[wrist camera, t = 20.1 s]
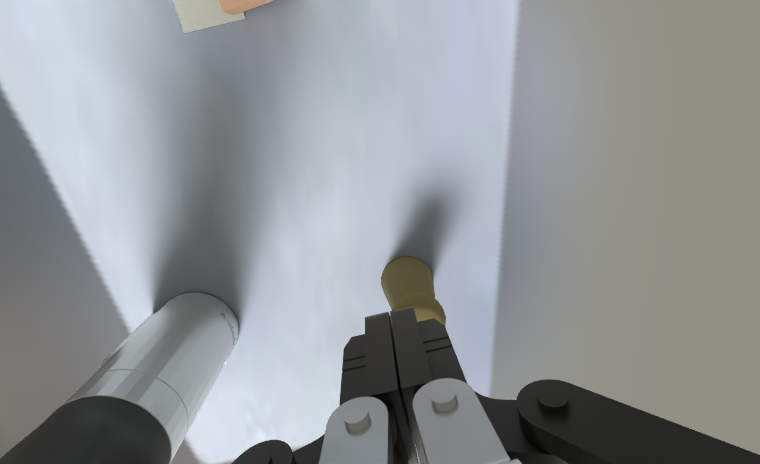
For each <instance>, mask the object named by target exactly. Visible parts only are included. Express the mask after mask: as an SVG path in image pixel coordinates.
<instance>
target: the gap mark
mask: <svg viewBox="0 0 760 464" xmlns="http://www.w3.org/2000/svg"><path fill="white" fill-rule="evenodd" d="M173 3H174V6H175V9H176V12H177V14H178V17H179V20H180V23H181V26H182V29H183V32H184V33H189V32H193V31H197V30H201V29H205V28H210V27H214V26H218V25H222V24H226V23H230V22H234V21H238V20H243V19H246V18H245V14H244V12H242V13H239V14H237V15H231V14H228V13H225V12H223V10H222V7H221V4H220V1H219V0H173Z"/></svg>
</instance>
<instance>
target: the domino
mask: <svg viewBox="0 0 760 464" xmlns="http://www.w3.org/2000/svg"><path fill="white" fill-rule="evenodd" d="M219 1H220V4H221V7H222V10H223V12H225V13H228V14H231V15H237V14H239V13H242V12H245V11H247V10H250V9H253V8H255V7H258V6H261V5H263V4H266V3H269V2H271V1H274V0H219Z"/></svg>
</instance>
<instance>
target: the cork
mask: <svg viewBox="0 0 760 464" xmlns="http://www.w3.org/2000/svg"><path fill="white" fill-rule="evenodd" d="M381 285H382V288H383V291H384V293H385V296H386V298H387V300H388V302H389V305H390V307H391V309H392V311H394V310H398V309H403V308H407V307H411V306H413V308H414V311H415V315H416V319H417V322H419V321H424V320H428V319H432V318H435V319H436V320H437V321H439V322H440V323H442V324H443V325H444V326H445V322H446V317H445V313H444V310H443V308H442V306H441V305H440V304H439V302H438V301H437V300H436V299H435V294H434V284H433V276H432V273H431V269H430V268H429V267H428V265H427V264H426V263H425V262H424V261H422V260H421V259H419V258H415V257H412V256H405V257H400V258H397V259H395V260H393V261H392V262H390V263H389V264H388V265H387V267H386V268H385V269H384V271H383V274H382V277H381ZM390 319H391V315H390ZM391 323H392V321H391Z"/></svg>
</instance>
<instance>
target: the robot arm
mask: <svg viewBox="0 0 760 464" xmlns="http://www.w3.org/2000/svg"><path fill="white" fill-rule="evenodd" d="M390 314H391V319H390V315H389V312H386V313H381V314H377V315H373V316H369V317H365V334H363V335H359V336H355V337H351V339H350V340H349V342H348V343H347V345H346V346H345V348H344V354H343V367H342V371H343V373H342V380H341V393H340V406H339V407H338V408H337V409H336V410H335V411H334V412H333V413H332V414H331V416H330V418H329V420H328V422H327V426H326V431H325V434H324V435H323V436H321V437H320V438H319V439H317V440H315V441H314V442H312V443H310V444H308V445H306V446H304V447H302V448H300V449H298V450H296V451H294V452H292V450H291V448H290V446H289V445H288V444H287V443H285V442H283V441H281V440H269V441H264V442H261V443H259V444H256V445H254V446H253V447H251V448H249V449H248V450H246V451H245V452H244V453H242V454H241V455H240V456H239V457H238V458H237V459H236V460H235V461H234V462H233V463H232V464H418V459H417V452H416V447H417V451H418V455H419V459H420V463H421V464H760V455H758V454H755V453H753V452H750V451H748V450H745V449H742V448H740V447H737V446H734V445H732V444H729V443H726V442H724V441H721V440H718V439H716V438H713V437H710V436H708V435H705V434H702V433H700V432H697V431H695V430H692V429H689V428H687V427H684V426H681V425H679V424H676V423H673V422H671V421H668V420H666V419H663V418H660V417H658V416H655V415H652V414H650V413H647V412H644V411H642V410H639V409H636V408H634V407H631V406H628V405H626V404H623V403H621V402H618V401H615V400H613V399H610V398H607V397H605V396H602V395H599V394H597V393H594V392H591V391H589V390H586V389H583V388H581V387H578V386H575V385H573V384H570V383H567V382H564V381H559V380H540V381H535V382H533V383H530V384H528V385H527V386H525V387H524V388H523V389H522V390H521V391H520V392H519V394H518V396H517V400H499V399H492V398H488V397H485V396H482V395H480V394H478V393H477V392H475V391H474V390H473V389H472V388H471V387H470V386H469V385H468V384H467V382H466V379H465V377H464V374H463V372H462V369H461V367H460V364H459V361H458V359H457V356H456V354H455V351H454V349H453V347H452V344H451V341H450V338H449V336H448V333H447V331H446V328H445V326H444V325H443V324H442V323H440V322H439V321H437V320H436V319H435V318H432V319H428V320H424V321H419V322H417V319H416V315H415V311H414V308H413V306H411V307H407V308H403V309H398V310H394V311H390ZM391 321H392V323H391ZM238 335H239V327H238V323H237V319H236V317H235V315H234V313H233V312H232V311H231V309H230V308H229V307H228V306H227V305H226V304H225V303H223V302H222V301H221V300H219V299H217V298H215V297H214V296H211V295H208V294H204V293H197V292H196V293H185V294H181V295H178V296H176V297H174V298H172V299H171V300H170V301H169V302H167V303H166V304H165V305H164V306H163V307H162V308H161V309H160V310H159V311H158V312H156V313H153V314H151V315H150V316H149V317H148V318H147V319H146V320H145V321H144V322H143V323H142V324H141V325H140V326H139V327H138V328H137V329H136V330H135V331H133V332H132V333H131V334H130V335H129V336H128V337H127V338H126V339H125V340H124V341H123V342H122V343H121V344H120V345H119V346H118V347H117V348H116V349H115V350H114V351H112V353H110V354H109V355H108V356H107V357H106V358H105V359H104V360H103V362H102V363H101V367H100V368H99V369H98V370H97V371H96V372H95V373H94V374H93V375H92V376H91V377H90V378H89V379H88V380H87V381H86V382H85V383H84V384H83V385H82V386H81V387H80V388H79V389H78V390H77V391H76V392H75V393H74V394H73V395H72V396H71V397H70V398H69V399H68V400H66V402H64V404H62V405H61V406H60V407H59V408H58V409H57V410H56V411H55V412H54V413H53V414H52V415H51V416H49V418H47V419H46V420H45V421H44V422H43V423H42V424H41V425H40V426H39V427H38V428H37V429H35V430H34V431H33V432H31V433H30V434H29V435H28V436H27V437H25V438H24V439H23V440H22V441H21V442H19V443H18V444H17V445H16V446H14V447H13V448H12V449H11V450H10V451H8V452H7V453H6V454H5V455H4V456H3V457H2V458H0V464H170V463H171V461H172V459H173V457H174V456H175V454H176V452H177V450H178V448H179V447H180V445H181V443H182V441H183V439H184V437H185V435H186V433H187V432H188V430H189V428H190V426H191V424H192V423H193V421H194V419H195V417H196V415H197V413H198V412H199V410H200V408H201V406H202V404H203V403H204V401H205V399H206V397H207V395H208V393H209V392H210V390H211V388H212V386H213V384H214V383H215V381H216V379H217V377H218V375H219V373H220V372H221V370H222V368H223V366H224V364H225V363H226V361H227V359H228V357H229V355H230V353H231V351H232V350H233V348H234V346H235V344H236V342H237V339H238ZM415 444H416V446H415Z"/></svg>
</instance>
